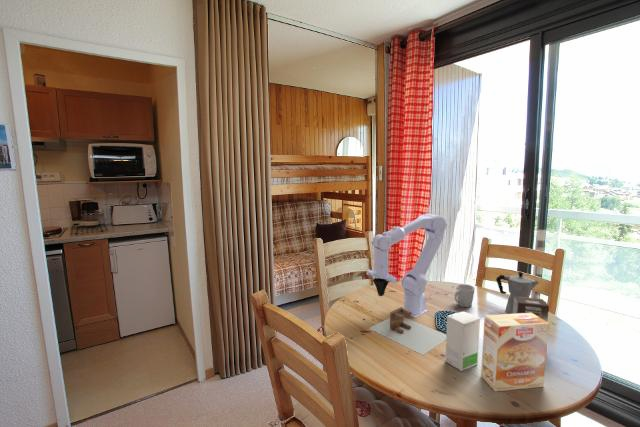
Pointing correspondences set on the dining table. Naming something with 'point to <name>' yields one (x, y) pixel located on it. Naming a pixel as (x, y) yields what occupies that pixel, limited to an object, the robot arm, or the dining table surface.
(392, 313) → the stool
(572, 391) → the dining table surface
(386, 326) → the mat
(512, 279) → the coffeepot
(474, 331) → the skincare box
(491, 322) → the coffeecake box
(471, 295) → the cup
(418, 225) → the robot arm
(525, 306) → the coffee box
